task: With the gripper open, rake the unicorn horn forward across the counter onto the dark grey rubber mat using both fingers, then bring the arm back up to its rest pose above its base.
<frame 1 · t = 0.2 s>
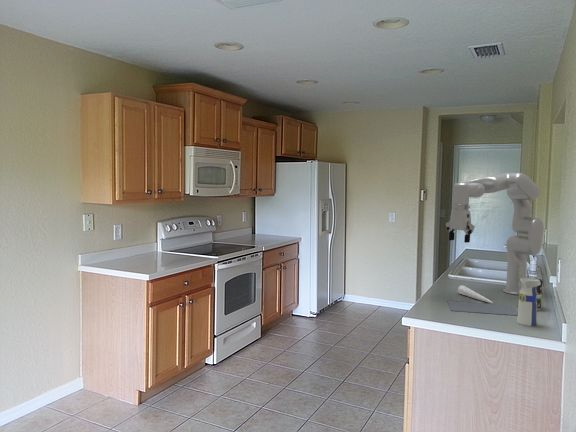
hand: (459, 241, 233), 31 cm above the worktop, tool pointing down, fingers open, 9 cm apart
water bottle: (527, 323, 199), on the worktop
coffee can: (529, 308, 225), on the worktop
mat: (481, 308, 222), on the worktop
unicorn horn: (475, 298, 240), on the worktop, touching mat
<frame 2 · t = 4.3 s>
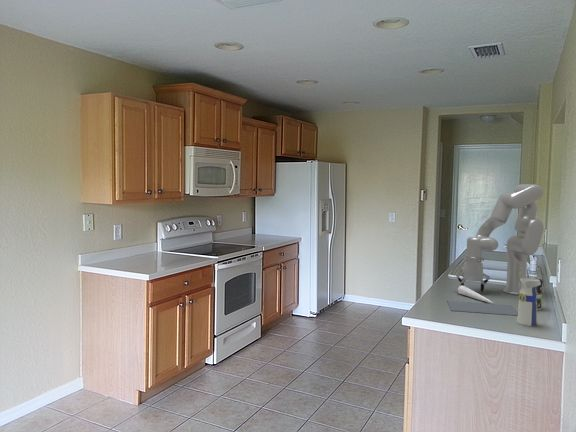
hand: (472, 290, 251), 2 cm above the worktop, tool pointing down, fingers open, 9 cm apart
unicorn horn: (475, 298, 240), on the worktop, touching gripper
everything else where it was.
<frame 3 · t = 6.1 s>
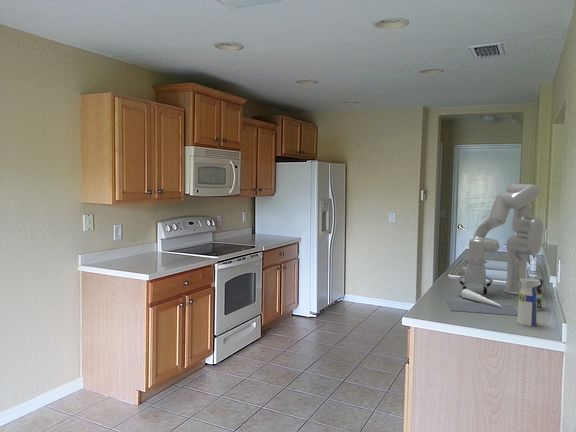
hand: (474, 294, 243), 2 cm above the worktop, tool pointing down, fingers open, 9 cm apart
unicorn horn: (481, 302, 233), on the worktop, touching gripper
everything else where it was.
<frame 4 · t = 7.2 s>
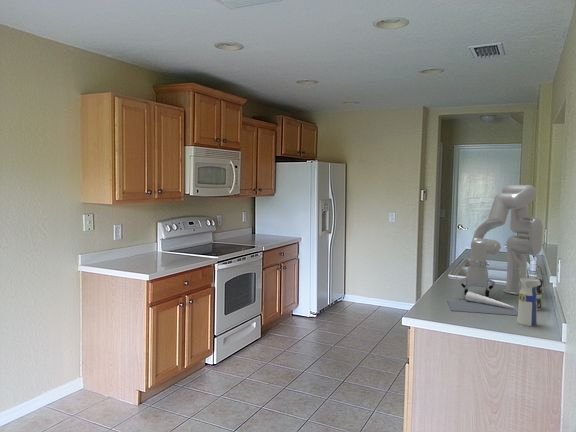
hand: (476, 297, 237), 2 cm above the worktop, tool pointing down, fingers open, 9 cm apart
unicorn horn: (488, 304, 228), on the worktop, touching gripper
everything else where it was.
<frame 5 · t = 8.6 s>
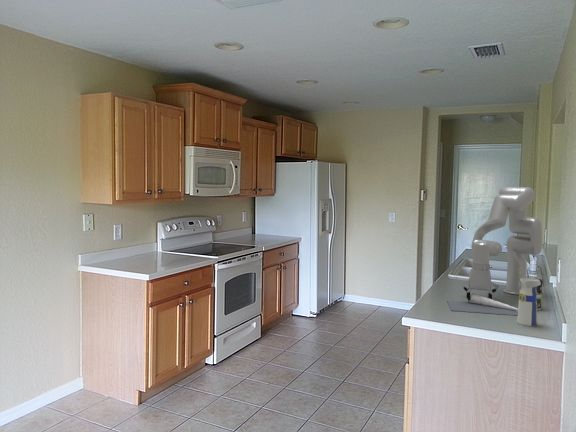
hand: (479, 300, 230), 2 cm above the worktop, tool pointing down, fingers open, 9 cm apart
unicorn horn: (493, 306, 224), on the worktop, touching gripper, mat
everything else where it was.
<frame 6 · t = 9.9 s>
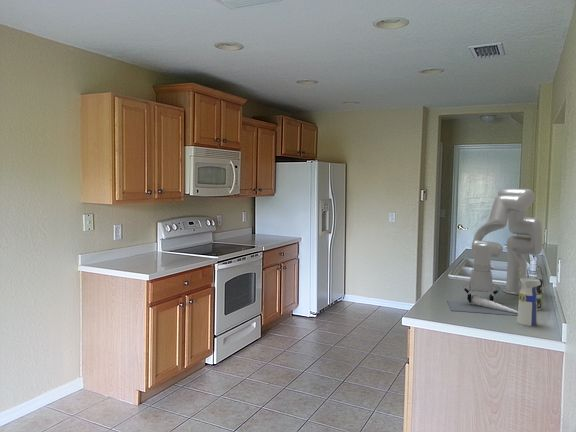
hand: (480, 302, 226), 2 cm above the worktop, tool pointing down, fingers open, 9 cm apart
unicorn horn: (494, 309, 221), on the worktop, touching gripper, mat
everything else where it was.
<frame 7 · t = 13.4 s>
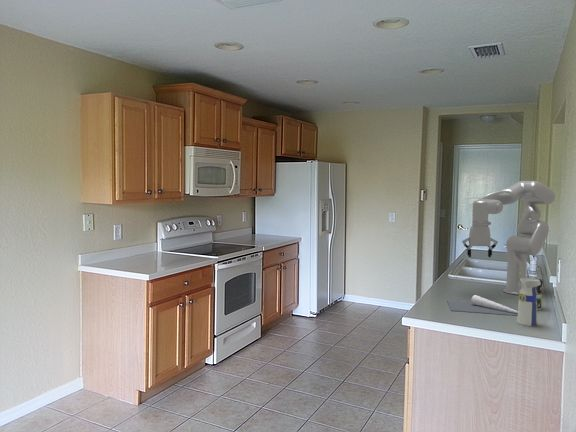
hand: (479, 256, 240), 22 cm above the worktop, tool pointing down, fingers open, 9 cm apart
unicorn horn: (494, 309, 220), on the worktop, touching mat
everything else where it was.
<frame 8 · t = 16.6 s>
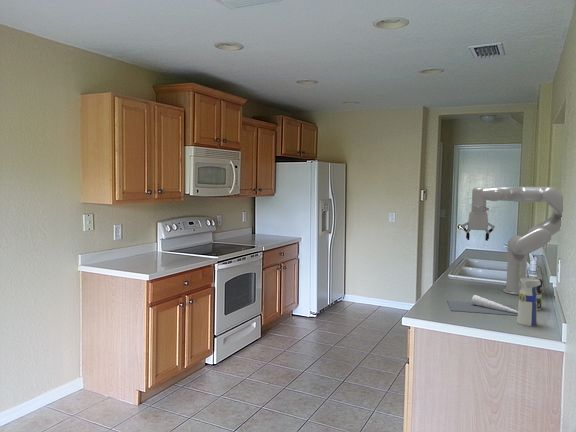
hand: (477, 240, 258), 28 cm above the worktop, tool pointing down, fingers open, 9 cm apart
nothing on the worktop moved.
at the end: unicorn horn inside the target area on the mat (5.8 cm from its centre), point 0.1 cm above the mat's base; unicorn horn moved 20.4 cm from its start; the gripper is holding nothing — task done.
